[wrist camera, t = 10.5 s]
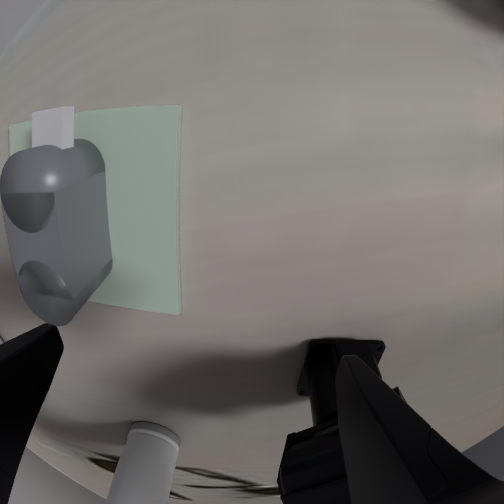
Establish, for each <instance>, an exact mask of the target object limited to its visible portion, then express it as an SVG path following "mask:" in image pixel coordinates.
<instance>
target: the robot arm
mask: <svg viewBox="0 0 504 504" xmlns="http://www.w3.org/2000/svg"><path fill="white" fill-rule="evenodd" d="M316 345H317V346H316ZM313 346H316V347H313ZM379 346H380V347H379ZM385 347H386V346H385V344H384V342H383V341H345V340H313V341H311V342H310V343H309V345H308V349H307V353H306V357H305V361H304V364H303V368H302V372H301V375H300V379H299V383H298V386H297V394H298V395H299V396H310V403H311V411H312V419H313V427H311V428H308V429H305V430H303V431H300V432H297V433H295V432H294V433H291V434H288V435H287V439H286V444H285V448H284V452H283V456H282V460H281V464H280V468H279V472H278V479H277V483H278V486H279V491H280V494H281V496H280V498H281V500H282V502H283V504H504V481H501V480H499V479H497V478H495V477H493V476H492V475H490V474H489V473H487V472H486V471H485V470H483V469H482V468H481V467H479V466H478V465H476V464H475V463H474V462H472V461H471V460H470V459H468V458H467V457H466V456H464V455H463V454H462V453H461V452H459V451H458V450H457V449H456V448H454V447H453V446H452V445H451V444H450V443H449V442H447V441H446V440H445V439H444V438H443V437H442V436H441V435H440V434H439V433H438V432H437V431H435V430H434V429H433V428H431V426H430V425H429V424H428V423H427V422H426V421H425V420H424V419H423V418H422V417H421V416H420V415H419V414H417V413H416V412H415V411H414V410H413V409H412V408H411V407H410V406H409V405H408V404H407V402H406V400H405V399H404V397H403V395H402V393H401V391H400V389H399V388H398V387H396V388H394V389H391V388H390V387H389V386H388V385H387V384H386V383H385V382H384V381H383V380H382V376H381V373H380V371H379V368H378V363H379V361H380V359H381V357H382V354H383V352H384V350H385ZM63 350H64V345H63V341H62V339H61V336H60V333H59V331H58V328H57V327H56V326H55V325H53V324H49V323H45V324H43V325H40V326H38V327H36V328H34V329H32V330H30V331H28V332H26V333H23V334H21V335H19V336H17V337H15V338H13V339H11V340H9V341H7V342H5V343H3V344H0V504H8V501H9V497H10V493H11V490H12V487H13V483H14V479H15V476H16V473H17V470H18V466H19V464H20V460H21V458H22V455H23V452H24V449H25V447H26V444H27V441H28V438H29V436H30V433H31V431H32V428H33V426H34V423H35V421H36V418H37V416H38V413H39V411H40V409H41V406H42V404H43V402H44V400H45V397H46V395H47V393H48V391H49V388H50V386H51V383H52V380H53V378H54V375H55V372H56V369H57V366H58V364H59V361H60V358H61V356H62V353H63Z"/></svg>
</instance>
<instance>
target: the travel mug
mask: <svg viewBox="0 0 504 504" xmlns="http://www.w3.org/2000/svg"><path fill="white" fill-rule="evenodd" d="M179 446H180V440H179V438H178V436H177V435H176V434H175V433H173V432H172V431H170V430H169V429H167V428H165V427H163V426H160V425H157V424H154V423H149V422H137V423H134V424H133V425H131V427H130V430H129V433H128V436H127V439H126V442H125V445H124V447H123V450H122V453H121V456H120V459H119V462H118V465H117V468H116V471H115V474H114V477H113V480H112V484H111V487H110V490H109V493H108V496H107V500H106V503H105V504H167V503H168V498H169V493H170V489H171V484H172V479H173V474H174V469H175V465H176V460H177V455H178V451H179Z"/></svg>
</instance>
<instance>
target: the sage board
mask: <svg viewBox="0 0 504 504" xmlns="http://www.w3.org/2000/svg"><path fill="white" fill-rule="evenodd" d="M181 120H182V105H156V106H137V107H123V108H111V109H101V110H92V111H84V112H77V113H74V139H85V140H88V141H90V142H92V143H93V144H94V145H95V146H96V147H97V148H98V149H99V151H100V153H101V154H102V157H103V159H104V163H105V171H106V194H107V210H108V222H109V233H110V242H111V251H112V260H113V263H112V269H111V272H110V274H109V275H108V277H107V278H106V279H105V280H104V281H103V282H102V284H101V285H100V286H99V287H98V288H97V289H96V291H95V292H94V293H93V294H92V295H91V296H90V298H89V299H88V300H87V301H89V302H95V303H100V304H106V305H112V306H118V307H125V308H131V309H138V310H145V311H152V312H159V313H166V314H174V315H179V314H180V312H181V309H182V306H181V285H180V256H179V169H180V140H181ZM9 143H10V156H11V155H13V154H14V153H16V152H18V151H21V150H25V149H29V148H32V120H31V121H26V122H22V123H17V124H13V125H9Z"/></svg>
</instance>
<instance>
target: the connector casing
mask: <svg viewBox="0 0 504 504" xmlns="http://www.w3.org/2000/svg"><path fill="white" fill-rule="evenodd" d="M0 194H1V202H2V209H3V216H4V222H5V227H6V233H7V238H8V243H9V247H10V252H11V256H12V260H13V264H14V268H15V272H16V276H17V279H18V283H19V286H20V290H21V293H22V295H23V297H24V299H25V301H26V303H27V304H28V306H29V307H30V308H31V310H32V311H33V312H34V313H35V314H36V315H37V316H38V317H40V318H41V319H42V320H44V321H45V322H47V323H49V324H53V325H56V326H63V325H66V324H68V323H69V322H70V321H71V320H72V318H73V317H74V316H75V315H76V314H77V312H78V311H79V310H80V309H81V307H82V306H83V305H84V304H85V302H86V301H87V300H88V299H89V298H90V296H91V295H92V294H93V293H94V292H95V291H96V289H97V288H98V287H99V286H100V285H101V284H102V282H103V281H104V280H105V279H106V278H107V277H108V275H109V274H110V272H111V269H112V263H113V260H112V251H111V242H110V233H109V222H108V210H107V194H106V171H105V163H104V159H103V157H102V154H101V153H100V151H99V149H98V148H97V147H96V146H95V145H94V144H93V143H92V142H90V141H88V140H85V139H74V107H58V108H53V109H47V110H43V111H38V112H33V113H32V148H29V149H25V150H21V151H18V152H16V153H14V154H13V155H11V156H10V157H9V159H8V160H7V161H6V163H5V165H4V167H3V170H2V174H1V179H0Z"/></svg>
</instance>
